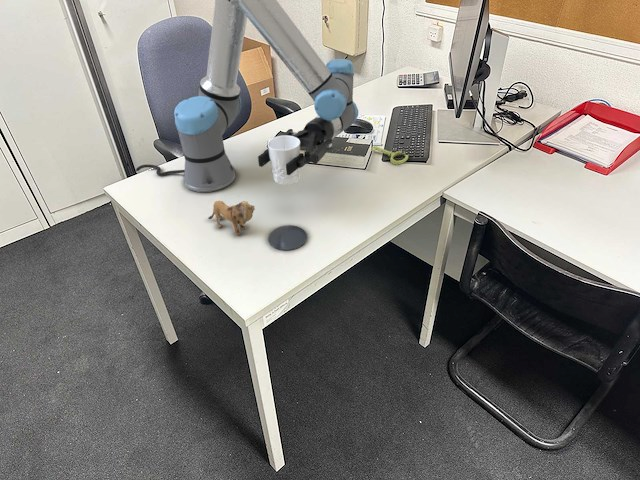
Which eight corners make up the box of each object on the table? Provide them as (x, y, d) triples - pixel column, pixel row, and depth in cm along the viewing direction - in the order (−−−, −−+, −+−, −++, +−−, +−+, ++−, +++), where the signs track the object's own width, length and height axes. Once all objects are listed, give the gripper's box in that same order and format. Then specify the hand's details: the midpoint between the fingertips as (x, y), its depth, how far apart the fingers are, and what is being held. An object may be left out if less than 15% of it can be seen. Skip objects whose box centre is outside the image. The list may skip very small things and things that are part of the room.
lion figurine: (260, 228, 110) (256, 198, 104) (249, 239, 106) (244, 210, 101) (214, 214, 115) (207, 186, 109) (202, 225, 111) (194, 196, 106)
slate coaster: (260, 242, 105) (260, 241, 105) (283, 222, 112) (283, 221, 111) (292, 255, 101) (292, 254, 101) (314, 233, 107) (314, 232, 107)
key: (372, 150, 141) (372, 144, 140) (409, 155, 138) (410, 149, 137) (366, 160, 136) (367, 154, 135) (405, 166, 133) (406, 160, 131)
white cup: (298, 187, 106) (295, 151, 100) (267, 184, 107) (263, 148, 101) (305, 171, 112) (303, 136, 106) (276, 169, 113) (272, 134, 107)
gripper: (354, 150, 116) (309, 190, 101) (292, 134, 124) (242, 169, 109) (355, 124, 111) (308, 161, 96) (290, 109, 120) (238, 142, 104)
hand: (273, 165), depth 103 cm, fingers closed on white cup, 8 cm apart
